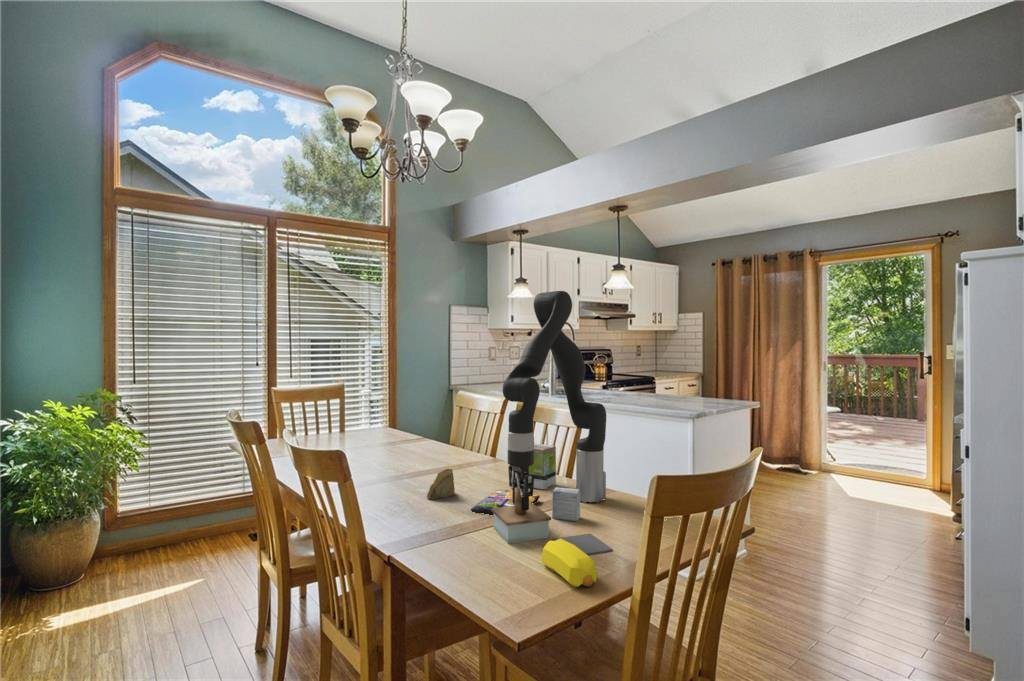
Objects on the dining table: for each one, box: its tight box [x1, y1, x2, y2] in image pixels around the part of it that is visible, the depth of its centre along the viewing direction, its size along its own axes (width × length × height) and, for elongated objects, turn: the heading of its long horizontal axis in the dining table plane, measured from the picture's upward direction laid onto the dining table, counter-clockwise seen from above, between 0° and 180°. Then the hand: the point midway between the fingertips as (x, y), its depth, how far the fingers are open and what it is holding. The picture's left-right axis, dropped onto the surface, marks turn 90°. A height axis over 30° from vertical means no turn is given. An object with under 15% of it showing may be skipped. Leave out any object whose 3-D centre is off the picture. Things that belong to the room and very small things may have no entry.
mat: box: [551, 532, 614, 556], centre depth 143 cm, size 12×12×1 cm
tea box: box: [509, 442, 557, 490], centre depth 202 cm, size 15×10×15 cm, turn 58°
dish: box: [493, 514, 550, 545], centre depth 152 cm, size 12×12×5 cm
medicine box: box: [551, 486, 581, 522], centre depth 165 cm, size 8×4×9 cm, turn 71°
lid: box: [492, 487, 552, 526], centre depth 152 cm, size 13×13×8 cm
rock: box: [426, 468, 456, 500], centre depth 187 cm, size 11×9×10 cm
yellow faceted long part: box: [541, 537, 598, 588], centre depth 126 cm, size 18×7×8 cm
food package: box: [470, 489, 541, 516], centre depth 175 cm, size 22×25×4 cm
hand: (520, 506), depth 152 cm, fingers open, 5 cm apart
